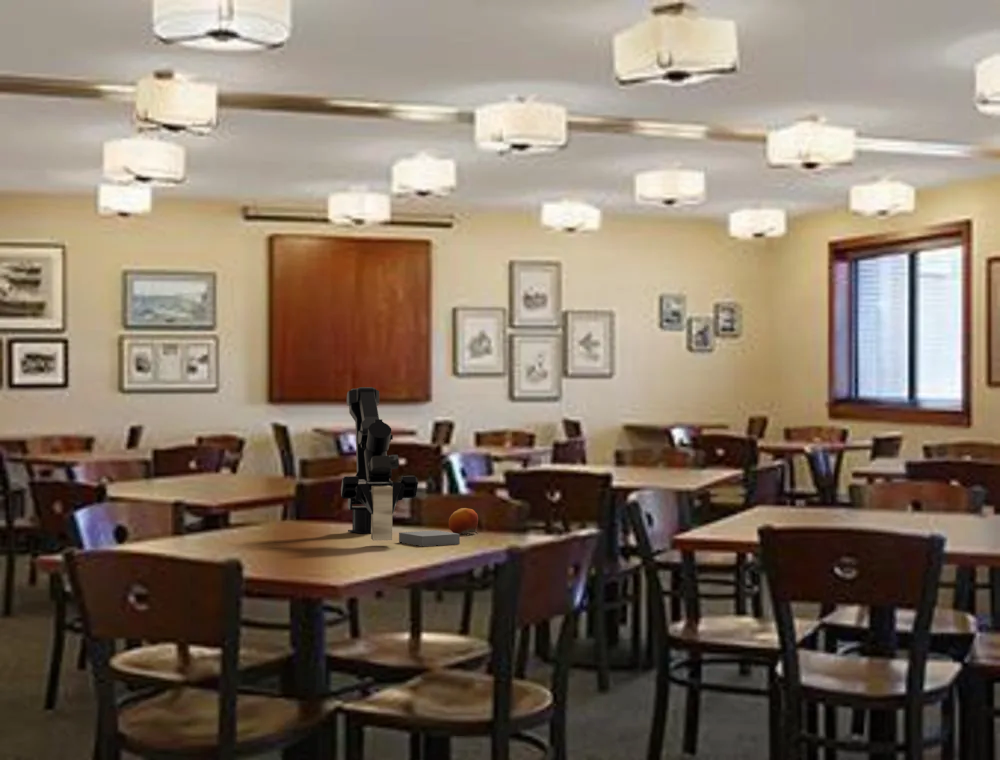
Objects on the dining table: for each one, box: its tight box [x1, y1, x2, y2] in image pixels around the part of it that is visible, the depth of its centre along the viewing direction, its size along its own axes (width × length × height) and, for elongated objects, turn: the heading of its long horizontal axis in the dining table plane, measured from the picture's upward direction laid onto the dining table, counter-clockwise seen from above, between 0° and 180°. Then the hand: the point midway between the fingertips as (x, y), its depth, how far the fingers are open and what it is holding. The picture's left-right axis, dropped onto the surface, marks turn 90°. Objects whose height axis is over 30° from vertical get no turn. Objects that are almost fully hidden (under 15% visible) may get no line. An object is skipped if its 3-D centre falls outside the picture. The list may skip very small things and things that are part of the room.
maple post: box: [370, 486, 393, 541], centre depth 349 cm, size 5×5×13 cm
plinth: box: [398, 530, 461, 547], centre depth 356 cm, size 11×11×2 cm
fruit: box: [448, 507, 479, 535], centre depth 380 cm, size 8×8×8 cm
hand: (382, 512), depth 347 cm, fingers closed on maple post, 5 cm apart
